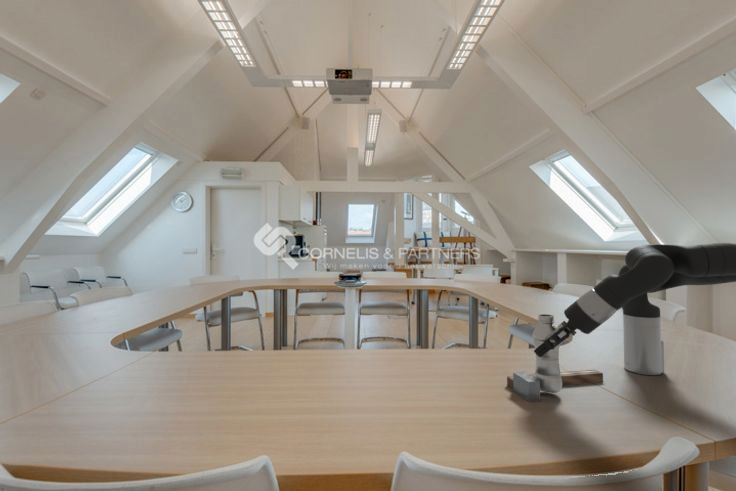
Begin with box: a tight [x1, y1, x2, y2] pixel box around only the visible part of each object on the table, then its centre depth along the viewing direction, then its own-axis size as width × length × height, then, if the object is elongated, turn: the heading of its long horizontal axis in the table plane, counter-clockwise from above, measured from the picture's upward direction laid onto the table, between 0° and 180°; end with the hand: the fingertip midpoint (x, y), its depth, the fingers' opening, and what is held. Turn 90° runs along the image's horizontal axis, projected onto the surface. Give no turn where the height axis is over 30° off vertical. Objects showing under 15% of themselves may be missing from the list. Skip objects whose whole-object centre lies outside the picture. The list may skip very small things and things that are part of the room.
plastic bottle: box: [532, 313, 563, 394], centre depth 94 cm, size 6×7×20 cm
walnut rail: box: [506, 369, 604, 390], centre depth 101 cm, size 28×3×3 cm, turn 99°
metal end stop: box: [512, 371, 541, 403], centre depth 93 cm, size 3×7×5 cm, turn 9°
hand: (540, 350), depth 95 cm, fingers closed on plastic bottle, 6 cm apart
